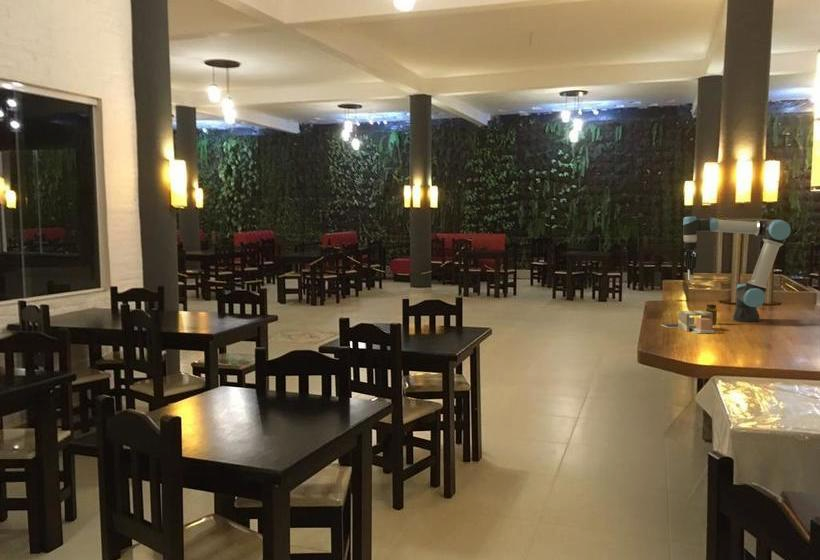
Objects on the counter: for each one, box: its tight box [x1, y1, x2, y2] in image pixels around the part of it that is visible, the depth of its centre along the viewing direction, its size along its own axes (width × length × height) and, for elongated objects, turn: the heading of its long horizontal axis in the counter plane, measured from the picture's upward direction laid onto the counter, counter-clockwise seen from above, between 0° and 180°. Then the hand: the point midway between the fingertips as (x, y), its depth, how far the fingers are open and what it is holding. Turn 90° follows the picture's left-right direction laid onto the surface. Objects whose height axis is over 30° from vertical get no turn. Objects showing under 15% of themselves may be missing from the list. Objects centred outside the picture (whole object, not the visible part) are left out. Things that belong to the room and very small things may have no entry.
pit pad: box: [661, 323, 678, 329], centre depth 418 cm, size 17×10×1 cm, turn 93°
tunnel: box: [677, 310, 713, 332], centre depth 404 cm, size 15×11×10 cm
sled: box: [689, 316, 715, 334], centre depth 401 cm, size 8×25×7 cm, turn 3°
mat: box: [691, 330, 716, 335], centre depth 394 cm, size 11×7×1 cm, turn 93°
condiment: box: [705, 303, 718, 326], centre depth 421 cm, size 7×8×12 cm
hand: (690, 280), depth 425 cm, fingers closed
